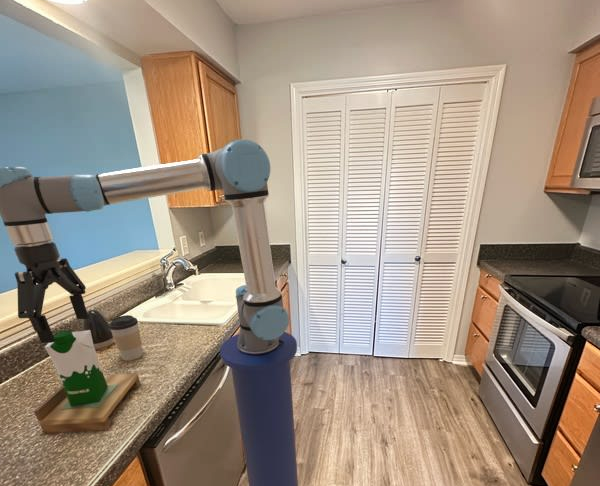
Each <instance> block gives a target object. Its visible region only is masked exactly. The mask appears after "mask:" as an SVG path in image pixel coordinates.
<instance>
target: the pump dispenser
mask: <svg viewBox="0 0 600 486" xmlns="http://www.w3.org/2000/svg"><path fill="white" fill-rule="evenodd" d="M87 313H88V316H89V318H88V319H82V324H81V325H82V326H81V331H86V330H90V331H91V336H92V340H93V345H94V348H95V350H104V349H106V348H108V347H110V346H111V345H112V344H113V343H114V342H115V340H114V338H113V335H112V332H111V329H110V328H109V324H110V323H111V322H110V321H108V319H107V318H106V316H105V315H104V314H102V312H100V311H99V310H97V309H89V310H87Z"/></svg>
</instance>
